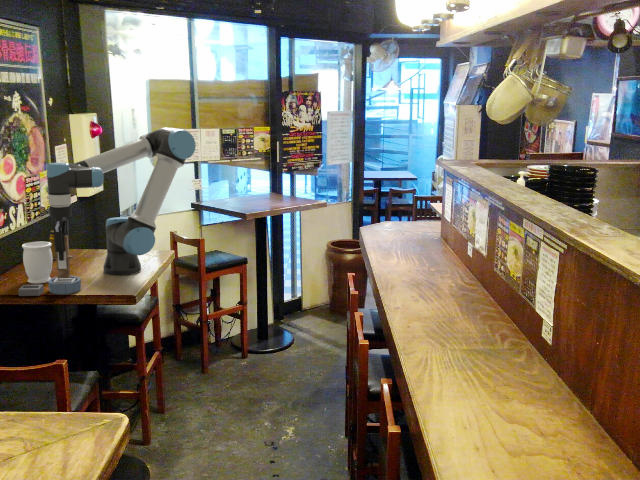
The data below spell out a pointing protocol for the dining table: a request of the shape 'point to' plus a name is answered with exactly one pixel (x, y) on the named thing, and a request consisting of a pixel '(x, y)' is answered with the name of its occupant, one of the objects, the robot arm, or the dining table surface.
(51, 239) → the condiment
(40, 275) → the jar
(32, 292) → the grey slotted block
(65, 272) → the brown long rectangular bar
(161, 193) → the robot arm
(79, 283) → the candle dish
